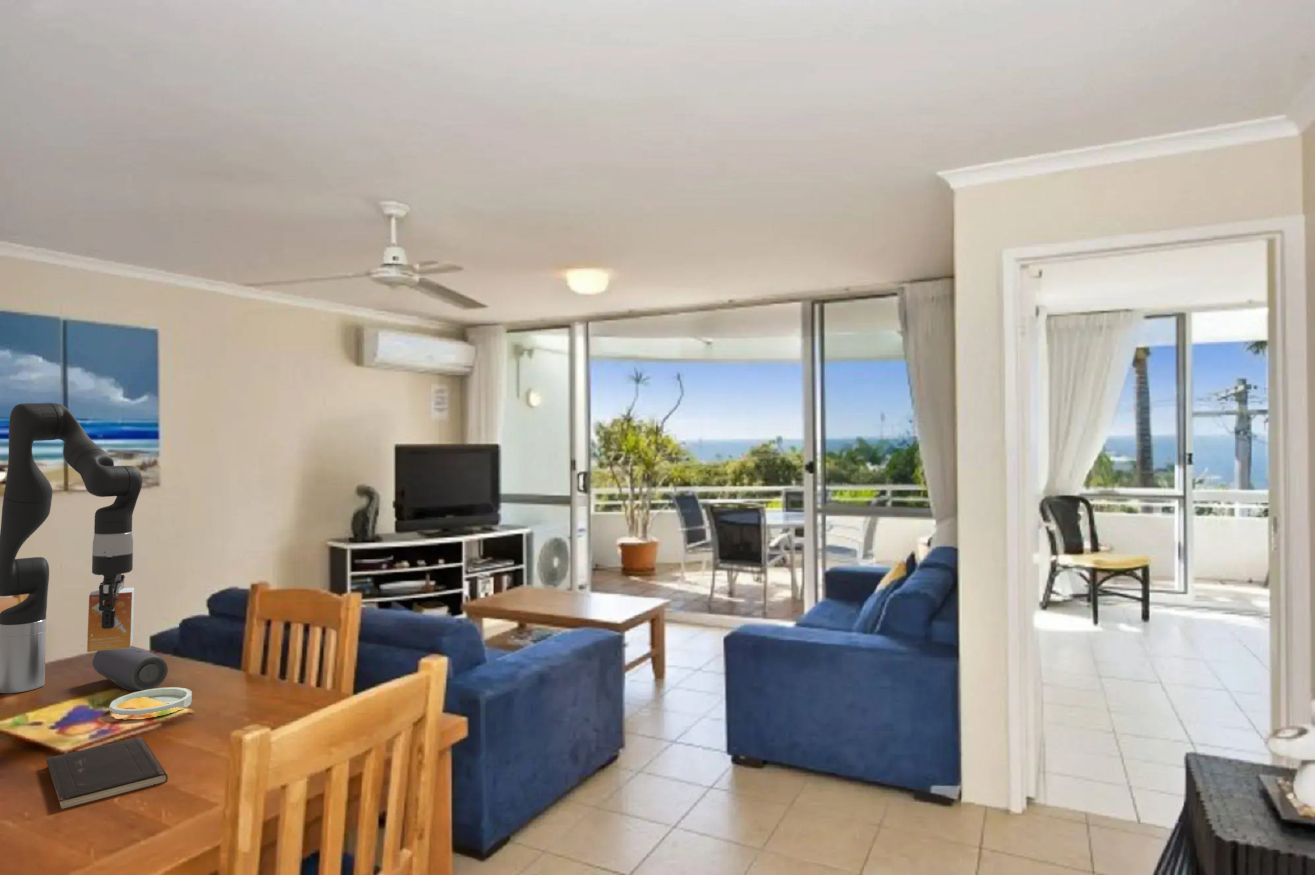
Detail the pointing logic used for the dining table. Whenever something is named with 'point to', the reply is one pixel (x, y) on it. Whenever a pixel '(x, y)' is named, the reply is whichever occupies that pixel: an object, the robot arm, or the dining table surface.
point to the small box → (123, 622)
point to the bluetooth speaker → (131, 668)
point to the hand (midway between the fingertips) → (111, 624)
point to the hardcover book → (104, 771)
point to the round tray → (165, 695)
